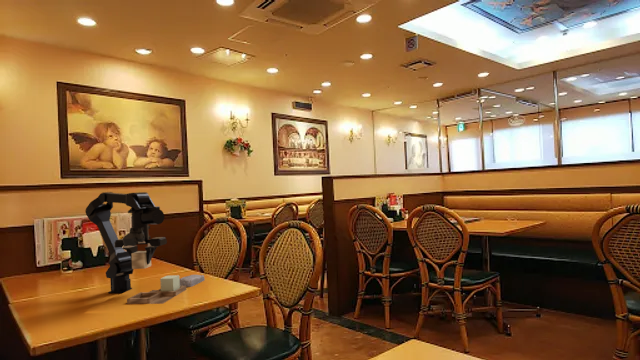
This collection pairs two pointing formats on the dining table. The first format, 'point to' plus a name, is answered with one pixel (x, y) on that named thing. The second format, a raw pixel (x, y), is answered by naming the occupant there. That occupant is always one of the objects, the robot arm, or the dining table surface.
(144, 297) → the walnut base board
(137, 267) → the oak block
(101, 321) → the dining table surface
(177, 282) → the sage block
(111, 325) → the dining table surface
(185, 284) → the stone block
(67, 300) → the dining table surface
